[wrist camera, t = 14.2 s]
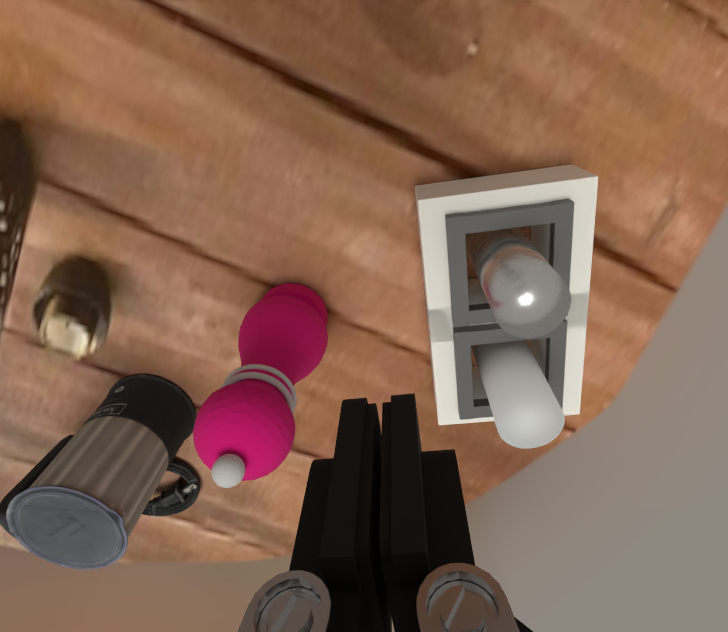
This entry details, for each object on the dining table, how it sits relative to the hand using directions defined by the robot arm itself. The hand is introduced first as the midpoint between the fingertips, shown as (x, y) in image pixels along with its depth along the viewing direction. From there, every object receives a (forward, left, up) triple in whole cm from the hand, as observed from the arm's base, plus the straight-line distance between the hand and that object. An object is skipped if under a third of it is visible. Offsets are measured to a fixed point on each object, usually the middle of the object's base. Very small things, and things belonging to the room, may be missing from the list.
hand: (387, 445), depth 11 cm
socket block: (+10, +8, -29) cm, 32 cm away
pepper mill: (+10, -10, -29) cm, 32 cm away
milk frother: (+23, -28, -29) cm, 47 cm away
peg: (+6, +8, -29) cm, 31 cm away
